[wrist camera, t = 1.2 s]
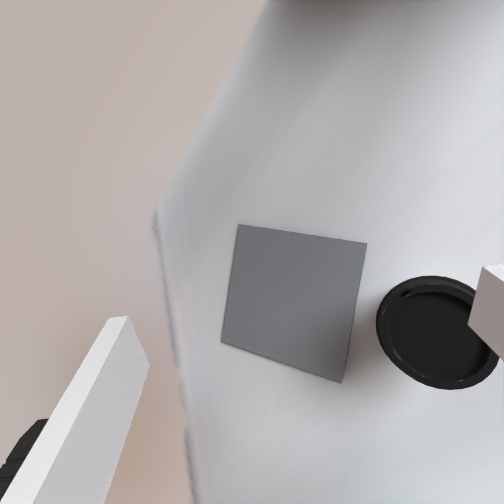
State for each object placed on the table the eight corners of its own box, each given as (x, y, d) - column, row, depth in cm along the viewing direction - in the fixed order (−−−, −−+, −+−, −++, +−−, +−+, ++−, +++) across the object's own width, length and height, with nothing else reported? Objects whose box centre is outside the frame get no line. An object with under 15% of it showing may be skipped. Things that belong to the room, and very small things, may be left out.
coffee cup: (432, 253, 34) (456, 255, 21) (483, 319, 32) (546, 368, 19) (367, 290, 37) (351, 313, 24) (409, 352, 35) (418, 415, 22)
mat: (241, 224, 45) (238, 224, 44) (367, 243, 37) (366, 243, 37) (223, 339, 46) (221, 341, 46) (342, 381, 39) (340, 383, 38)
